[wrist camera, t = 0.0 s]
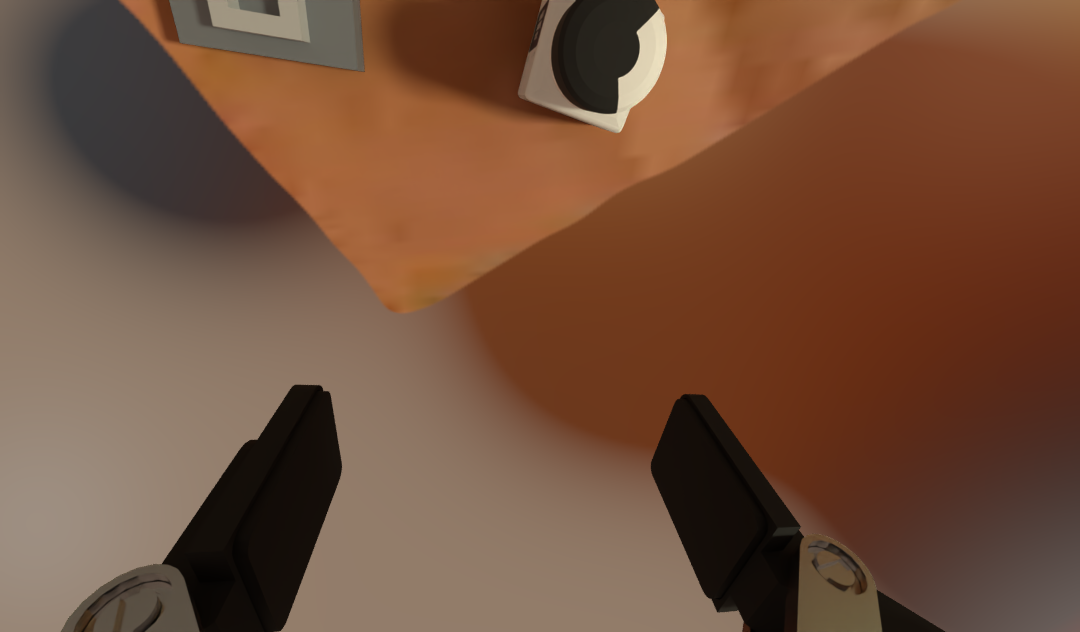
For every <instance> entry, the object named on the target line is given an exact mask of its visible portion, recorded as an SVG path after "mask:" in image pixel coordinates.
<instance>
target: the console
mask: <svg viewBox="0 0 1080 632" xmlns="http://www.w3.org/2000/svg"><path fill="white" fill-rule="evenodd" d="M169 2H170V6H171V9H172V13H173V17H174V21H175V25H176V29H177V33H178V37H179V40H180V43H184V44H191V45H197V46H203V47H210V48H216V49H222V50H229V51H235V52H242V53H248V54H254V55H261V56H267V57H273V58H280V59H286V60H293V61H299V62H305V63H312V64H318V65H325V66H331V67H337V68H344V69H350V70H356V71H363V72H365V71H364V57H363V42H362V28H361V14H360V0H169Z"/></svg>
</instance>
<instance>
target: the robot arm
mask: <svg viewBox="0 0 1080 632" xmlns="http://www.w3.org/2000/svg"><path fill="white" fill-rule="evenodd" d="M341 470H342V462H341V456H340V450H339V444H338V438H337V432H336V425H335V419H334V413H333V407H332V402H331V395H330V393H329V392H328V391H323V388H322V387H321V386H320V385H294V386H293V387H292V388H291V389H290V391H289V392H288V394H287V395H286V397H285V398H284V400H283V401H282V403H281V405H280V406H279V407H278V409H277V410H276V412H275V414H274V415H273V417H272V418H271V420H270V421H269V423H268V424H267V426H266V427H265V429H264V431H263V432H262V433H261V435H260V437H259V438H258V440H249V441H248V442H247V443H245V444H244V445H243V446H242V448H241V449H240V450H239V451H238V453H237V455H236V456H235V457H234V459H233V460H232V462H231V463H230V465H229V466H228V468H227V469H226V471H225V472H224V473H223V475H222V476H221V478H220V479H219V481H218V482H217V484H216V485H215V487H214V488H213V490H212V491H211V493H210V494H209V495H208V497H207V498H206V500H205V501H204V503H203V504H202V506H201V507H200V509H199V510H198V512H197V513H196V515H195V516H194V517H193V519H192V520H191V522H190V523H189V525H188V526H187V528H186V529H185V531H184V532H183V534H182V535H181V536H180V538H179V539H178V541H177V543H176V544H175V545H174V547H173V548H172V550H171V551H170V553H169V554H168V555H167V557H166V558H165V560H164V561H163V563H162V564H153V565H148V566H144V567H139V568H136V569H134V570H131V571H129V572H127V573H124V574H122V575H120V576H118V577H116V578H115V579H113V580H111V581H110V582H108V583H106V584H105V585H103V586H102V587H100V588H99V589H98V590H96V591H95V592H94V593H93V594H92V595H90V596H89V597H88V598H87V599H86V600H84V601H83V602H82V603H81V604H80V606H79V607H78V608H77V609H76V610H75V611H74V612H73V614H72V615H71V616H70V617H69V618H68V620H67V621H66V623H65V625H64V627H63V629H62V631H61V632H277V631H281V630H282V629H283V627H284V625H285V623H286V621H287V619H288V616H289V613H290V611H291V608H292V605H293V603H294V600H295V597H296V595H297V592H298V589H299V586H300V584H301V581H302V579H303V576H304V573H305V570H306V568H307V565H308V563H309V560H310V557H311V555H312V552H313V549H314V547H315V544H316V541H317V539H318V536H319V533H320V530H321V528H322V525H323V522H324V520H325V517H326V514H327V512H328V509H329V506H330V503H331V501H332V498H333V496H334V493H335V490H336V488H337V485H338V482H339V479H340V476H341ZM651 471H652V475H653V478H654V480H655V482H656V484H657V486H658V489H659V491H660V494H661V496H662V498H663V500H664V503H665V505H666V507H667V509H668V512H669V514H670V516H671V519H672V521H673V523H674V525H675V528H676V530H677V533H678V535H679V537H680V539H681V541H682V544H683V546H684V548H685V551H686V553H687V555H688V558H689V560H690V562H691V565H692V567H693V569H694V571H695V574H696V576H697V578H698V581H699V583H700V585H701V588H702V590H703V592H704V593H705V595H706V596H707V597H708V598H710V599H712V601H713V603H714V606H715V608H716V610H717V612H729V611H737V610H739V612H740V615H741V616H742V619H743V621H744V623H743V630H742V632H945V631H943V630H942V629H940V628H938V627H937V626H935V625H933V624H932V623H930V622H929V621H927V620H925V619H924V618H922V617H920V616H919V615H917V614H915V613H914V612H912V611H911V610H909V609H907V608H906V607H904V606H902V605H901V604H899V603H897V602H896V601H894V600H893V599H891V598H889V597H888V596H886V595H884V594H883V593H881V592H880V591H878V590H876V586H875V583H874V579H873V577H872V576H871V574H870V572H869V570H868V569H867V567H866V566H865V565H864V563H863V562H862V561H861V560H860V559H859V558H858V557H857V556H856V555H855V554H854V553H853V552H851V551H850V550H849V549H848V548H847V547H845V546H844V545H842V544H841V543H839V542H837V541H836V540H834V539H831V538H829V537H826V536H824V535H819V534H811V535H807V536H805V537H804V536H803V535H802V534H801V532H800V531H799V529H800V527H801V526H800V525H799V523H798V522H797V521H796V520H795V518H794V517H793V515H792V514H791V512H790V511H789V510H788V508H787V507H786V505H785V504H784V503H783V502H782V500H781V499H780V497H779V496H778V495H777V493H776V492H775V490H774V489H773V488H772V486H771V485H770V483H769V482H768V481H767V479H766V478H765V477H764V475H763V474H762V472H761V471H760V470H759V468H758V467H757V466H756V464H755V463H754V461H753V460H752V459H751V457H750V456H749V454H748V453H747V452H746V450H745V449H744V448H743V446H742V445H741V443H740V442H739V441H738V439H737V438H736V437H735V435H734V434H733V432H732V431H731V430H730V428H729V427H728V426H727V424H726V423H725V421H724V420H723V419H722V417H721V416H720V414H719V413H718V412H717V410H716V409H715V408H714V406H713V405H712V403H711V402H710V401H709V399H708V398H707V397H706V396H705V395H696V394H684V395H682V396H681V398H680V399H677V400H676V402H675V404H674V406H673V409H672V412H671V414H670V416H669V419H668V421H667V424H666V426H665V429H664V431H663V434H662V436H661V439H660V441H659V444H658V446H657V449H656V451H655V454H654V456H653V459H652V462H651Z"/></svg>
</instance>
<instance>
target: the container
mask: <svg viewBox="0 0 1080 632" xmlns="http://www.w3.org/2000/svg"><path fill="white" fill-rule="evenodd" d="M666 46H667V36H666V28H665V23H664V15H663V14H662V13H661V11H660V8H659V7H658V5H657V3H656V2H655V0H542V2H541V6H540V10H539V14H538V18H537V21H536V25H535V29H534V33H533V37H532V40H531V44H530V48H529V52H528V56H527V59H526V63H525V67H524V71H523V75H522V78H521V82H520V86H519V90H518V96H519V97H520V98H521V99H524V100H526V101H529V102H532V103H534V104H537V105H540V106H542V107H545V108H548V109H550V110H553V111H556V112H558V113H561V114H563V115H566V116H569V117H571V118H574V119H577V120H579V121H582V122H585V123H587V124H590V125H593V126H596V127H599V128H602V129H605V130H608V131H611V132H614V133H619V132H620V131H621V130H622V128H623V126H624V123H625V121H626V118H627V115H628V113H629V110H630V108H632V107H633V106H635V105H636V104H638V103H639V102H640V101H641V100H642V99H643V98H644V97H645V96H646V95H647V94H648V93H649V92H650V90H651V89H652V88H653V86H654V85H655V83H656V81H657V79H658V77H659V75H660V73H661V70H662V67H663V64H664V60H665V55H666Z"/></svg>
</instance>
